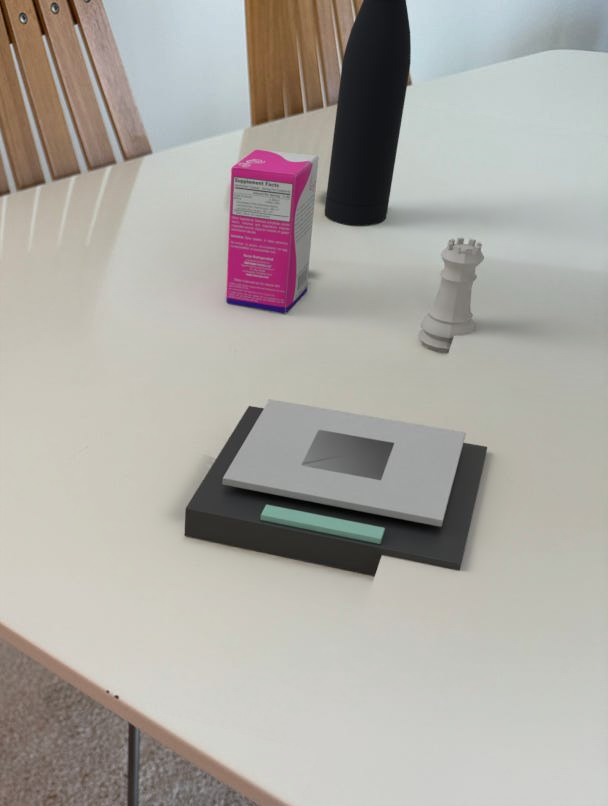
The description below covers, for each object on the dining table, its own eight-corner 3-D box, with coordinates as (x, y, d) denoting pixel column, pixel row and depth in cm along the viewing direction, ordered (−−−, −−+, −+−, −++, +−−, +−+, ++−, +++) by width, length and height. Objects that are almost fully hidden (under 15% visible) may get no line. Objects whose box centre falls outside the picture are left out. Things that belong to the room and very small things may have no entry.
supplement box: (245, 281, 95) (256, 146, 87) (308, 292, 93) (323, 155, 85) (221, 303, 91) (230, 164, 83) (286, 315, 89) (301, 173, 81)
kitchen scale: (480, 473, 69) (491, 432, 67) (453, 592, 59) (464, 549, 57) (246, 431, 73) (249, 391, 71) (184, 536, 63) (185, 493, 61)
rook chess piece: (474, 356, 83) (498, 255, 77) (417, 352, 83) (436, 251, 78) (470, 334, 86) (492, 235, 81) (415, 329, 87) (433, 231, 81)
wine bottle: (313, 218, 108) (354, -143, 89) (340, 202, 112) (385, -146, 93) (370, 230, 106) (425, -140, 86) (396, 213, 110) (454, -143, 90)
